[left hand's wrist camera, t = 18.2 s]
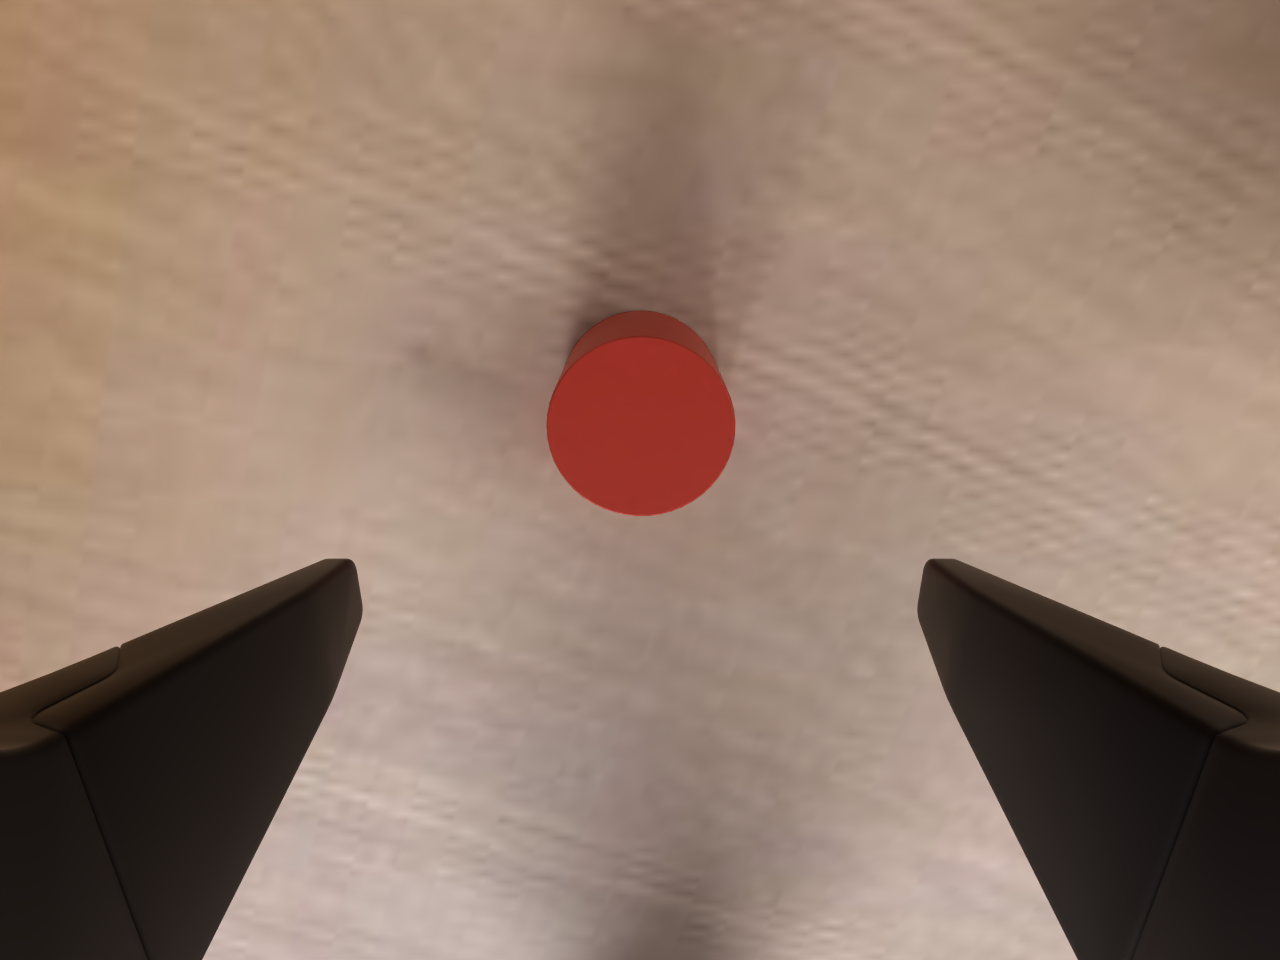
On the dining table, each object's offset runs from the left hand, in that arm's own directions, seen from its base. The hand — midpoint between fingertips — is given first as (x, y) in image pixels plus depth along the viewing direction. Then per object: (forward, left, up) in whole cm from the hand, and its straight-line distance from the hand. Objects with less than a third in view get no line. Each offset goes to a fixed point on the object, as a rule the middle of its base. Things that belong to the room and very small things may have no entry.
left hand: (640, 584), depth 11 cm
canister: (0, 0, -12) cm, 12 cm away
